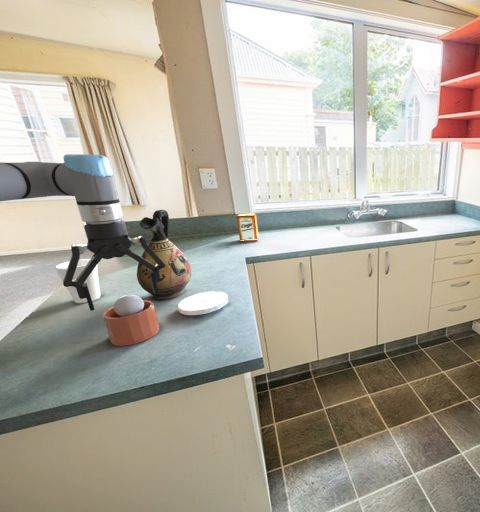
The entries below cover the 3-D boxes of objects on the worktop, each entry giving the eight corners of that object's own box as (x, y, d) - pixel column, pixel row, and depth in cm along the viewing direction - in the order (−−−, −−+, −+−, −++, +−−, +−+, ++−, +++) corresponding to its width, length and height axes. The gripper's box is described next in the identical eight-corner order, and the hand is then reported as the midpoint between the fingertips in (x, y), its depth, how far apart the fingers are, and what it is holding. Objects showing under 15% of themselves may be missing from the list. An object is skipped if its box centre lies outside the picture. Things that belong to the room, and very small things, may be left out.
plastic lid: (235, 307, 98) (234, 300, 97) (187, 323, 88) (185, 315, 87) (219, 294, 107) (217, 288, 106) (173, 307, 97) (172, 300, 96)
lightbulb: (145, 323, 86) (136, 289, 82) (153, 330, 82) (144, 294, 79) (119, 333, 81) (108, 296, 78) (126, 340, 78) (115, 303, 74)
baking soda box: (240, 242, 173) (236, 215, 168) (242, 239, 179) (238, 213, 174) (257, 241, 176) (254, 214, 171) (259, 238, 182) (255, 212, 177)
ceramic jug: (183, 302, 100) (164, 215, 91) (132, 305, 98) (108, 215, 89) (203, 282, 116) (189, 206, 107) (160, 284, 114) (142, 207, 105)
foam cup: (103, 301, 100) (92, 265, 96) (65, 308, 95) (51, 270, 91) (108, 291, 108) (97, 257, 104) (72, 297, 103) (60, 261, 99)
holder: (100, 346, 77) (91, 318, 74) (131, 324, 86) (124, 300, 84) (141, 345, 77) (133, 318, 74) (167, 324, 87) (162, 300, 84)
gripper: (25, 231, 61) (59, 322, 67) (168, 217, 78) (183, 291, 84) (28, 225, 66) (58, 311, 72) (161, 213, 83) (176, 283, 89)
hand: (126, 300), depth 78 cm, fingers open, 12 cm apart
